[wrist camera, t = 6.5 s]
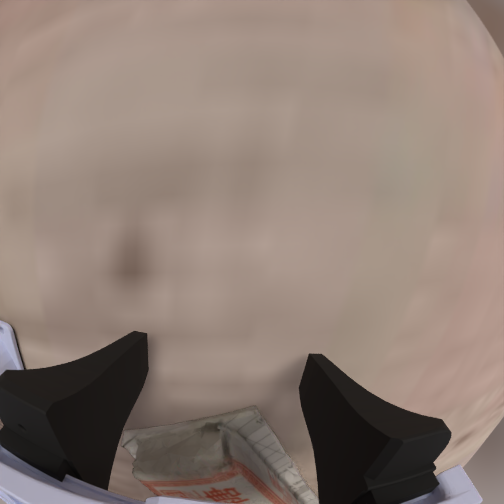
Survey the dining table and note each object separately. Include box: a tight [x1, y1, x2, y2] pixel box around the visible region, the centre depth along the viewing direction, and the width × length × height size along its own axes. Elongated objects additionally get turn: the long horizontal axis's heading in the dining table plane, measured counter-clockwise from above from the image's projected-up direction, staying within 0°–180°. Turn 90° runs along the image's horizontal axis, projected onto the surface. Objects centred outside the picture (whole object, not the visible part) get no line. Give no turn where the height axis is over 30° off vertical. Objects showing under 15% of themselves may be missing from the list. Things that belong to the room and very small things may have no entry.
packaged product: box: [121, 406, 319, 504], centre depth 14 cm, size 18×5×10 cm
